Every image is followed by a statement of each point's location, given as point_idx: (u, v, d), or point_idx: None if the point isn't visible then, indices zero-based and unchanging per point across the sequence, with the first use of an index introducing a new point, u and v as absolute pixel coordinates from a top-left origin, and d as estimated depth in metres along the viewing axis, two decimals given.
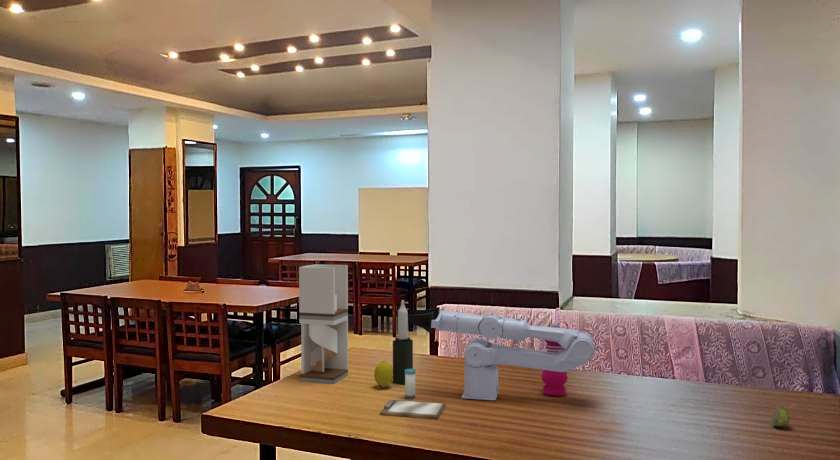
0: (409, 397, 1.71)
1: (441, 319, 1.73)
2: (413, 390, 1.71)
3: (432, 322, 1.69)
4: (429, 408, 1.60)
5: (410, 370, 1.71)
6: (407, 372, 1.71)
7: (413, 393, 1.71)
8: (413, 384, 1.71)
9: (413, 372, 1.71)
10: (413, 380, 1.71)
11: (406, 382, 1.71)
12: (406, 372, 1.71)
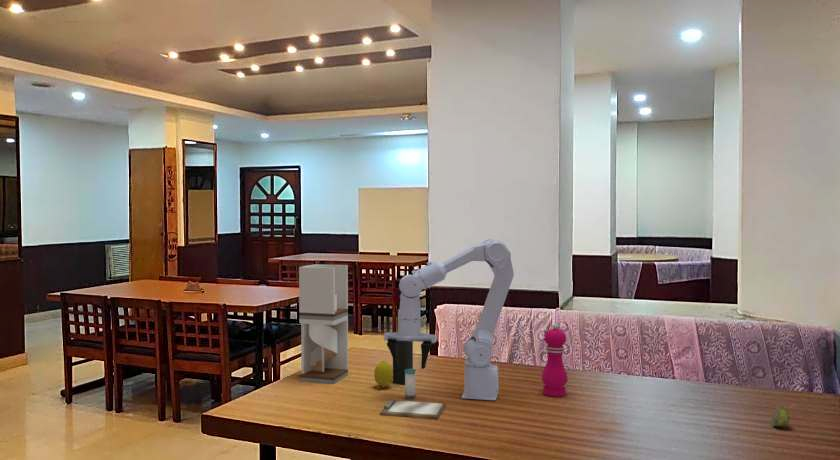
0: (409, 397, 1.71)
1: (419, 335, 1.70)
2: (413, 390, 1.71)
3: (435, 341, 1.70)
4: (429, 408, 1.60)
5: (410, 370, 1.71)
6: (407, 372, 1.71)
7: (413, 393, 1.71)
8: (413, 384, 1.71)
9: (413, 372, 1.71)
10: (413, 380, 1.71)
11: (406, 382, 1.71)
12: (406, 372, 1.71)
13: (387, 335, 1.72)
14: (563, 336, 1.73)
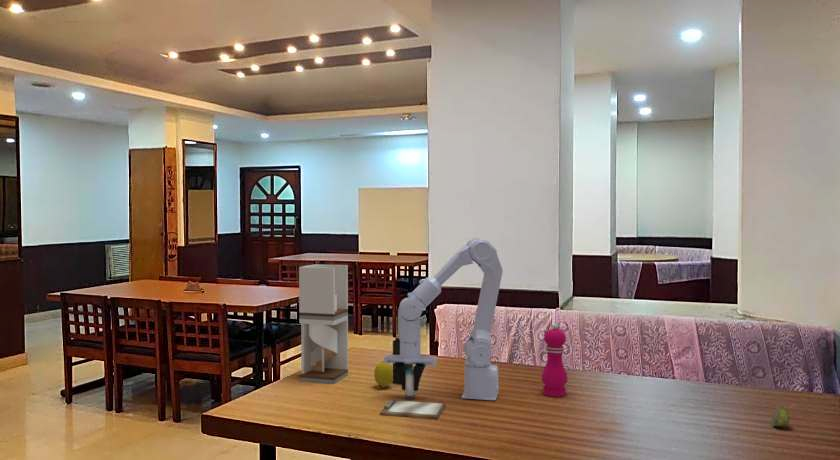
0: (409, 397, 1.71)
1: (419, 357, 1.70)
2: (413, 390, 1.71)
3: (435, 364, 1.70)
4: (429, 408, 1.60)
5: (410, 370, 1.71)
6: (407, 372, 1.71)
7: (413, 393, 1.71)
8: (413, 384, 1.71)
9: (413, 372, 1.71)
10: (413, 380, 1.71)
11: (406, 382, 1.71)
12: (406, 372, 1.71)
13: (387, 358, 1.72)
14: (563, 336, 1.73)
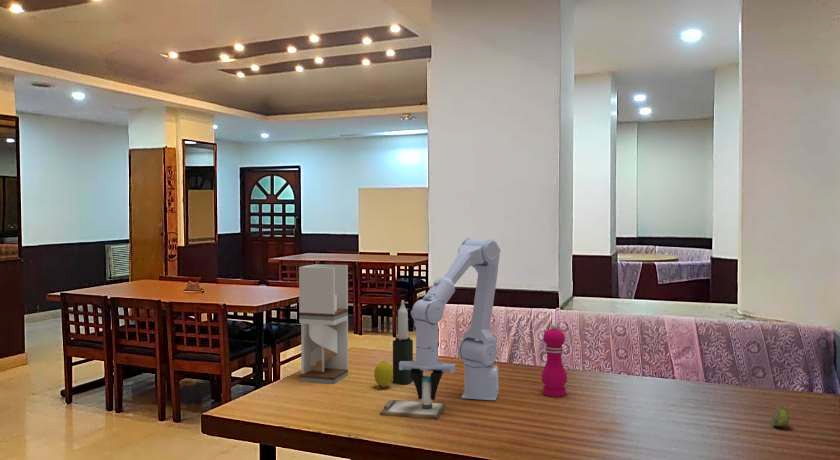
0: (426, 406, 1.59)
1: (437, 364, 1.59)
2: (430, 399, 1.59)
3: (454, 371, 1.58)
4: None
5: (427, 377, 1.60)
6: (424, 380, 1.59)
7: (430, 402, 1.59)
8: (430, 392, 1.59)
9: (430, 379, 1.59)
10: (430, 388, 1.59)
11: (423, 390, 1.59)
12: (423, 380, 1.59)
13: (402, 364, 1.61)
14: (562, 336, 1.73)
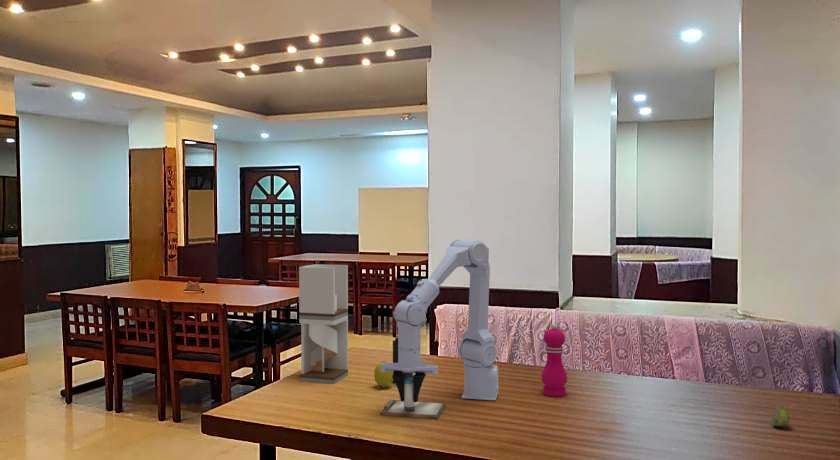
0: (408, 409, 1.57)
1: (419, 366, 1.57)
2: (413, 401, 1.58)
3: (436, 373, 1.56)
4: (429, 408, 1.60)
5: (409, 379, 1.58)
6: (406, 382, 1.57)
7: (413, 404, 1.58)
8: (413, 394, 1.58)
9: None
10: (413, 390, 1.58)
11: (405, 392, 1.58)
12: (405, 382, 1.57)
13: (384, 366, 1.59)
14: (562, 336, 1.73)
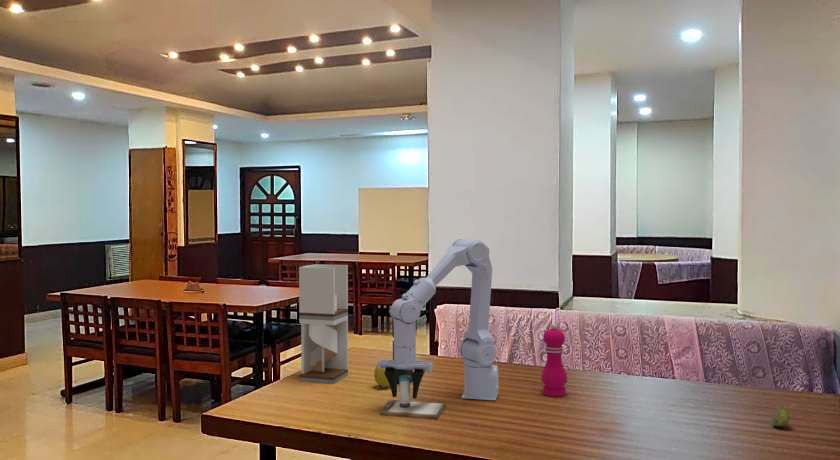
0: (404, 405, 1.61)
1: (414, 363, 1.60)
2: (408, 398, 1.61)
3: (431, 370, 1.60)
4: (429, 408, 1.60)
5: (405, 377, 1.61)
6: (402, 379, 1.61)
7: (408, 401, 1.61)
8: (408, 391, 1.61)
9: (408, 379, 1.61)
10: (408, 387, 1.61)
11: (400, 389, 1.61)
12: (400, 379, 1.61)
13: (380, 363, 1.62)
14: (562, 336, 1.73)
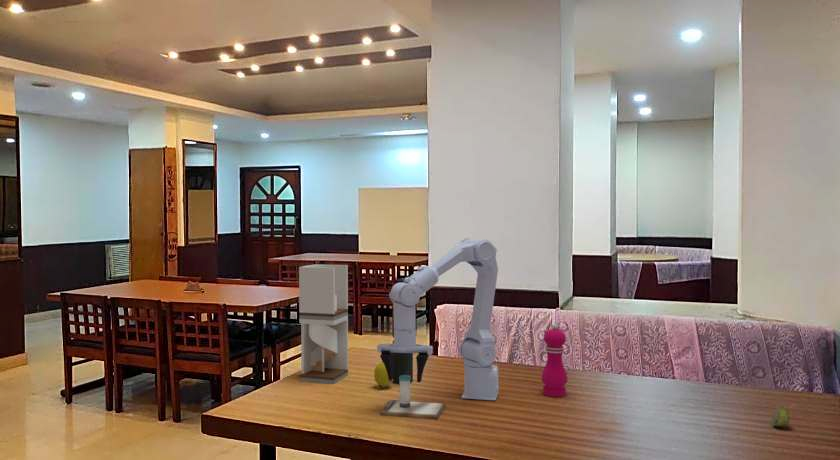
0: (404, 405, 1.61)
1: (414, 346, 1.60)
2: (408, 398, 1.61)
3: (431, 353, 1.60)
4: (429, 408, 1.60)
5: (405, 377, 1.61)
6: (402, 379, 1.61)
7: (408, 401, 1.61)
8: (408, 391, 1.61)
9: (408, 379, 1.61)
10: (408, 387, 1.61)
11: (401, 389, 1.61)
12: (401, 379, 1.61)
13: (380, 347, 1.62)
14: (562, 336, 1.73)
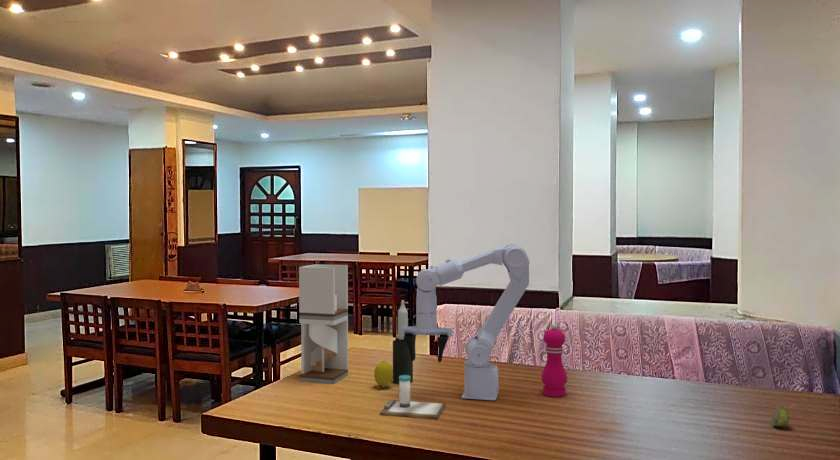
0: (404, 405, 1.61)
1: (435, 328, 1.72)
2: (408, 398, 1.61)
3: (451, 335, 1.72)
4: (429, 408, 1.60)
5: (405, 377, 1.61)
6: (402, 379, 1.60)
7: (408, 401, 1.61)
8: (408, 391, 1.61)
9: (408, 379, 1.61)
10: (408, 387, 1.61)
11: (400, 389, 1.61)
12: (400, 379, 1.61)
13: (404, 329, 1.74)
14: (562, 336, 1.73)
